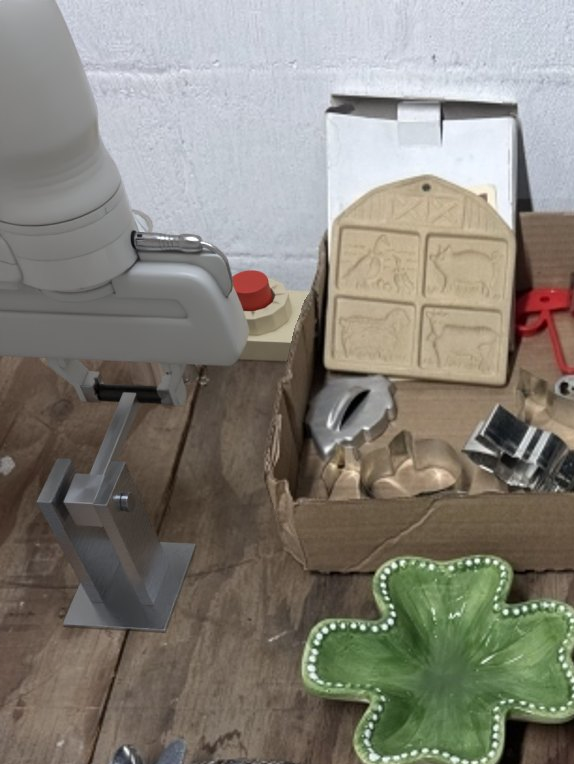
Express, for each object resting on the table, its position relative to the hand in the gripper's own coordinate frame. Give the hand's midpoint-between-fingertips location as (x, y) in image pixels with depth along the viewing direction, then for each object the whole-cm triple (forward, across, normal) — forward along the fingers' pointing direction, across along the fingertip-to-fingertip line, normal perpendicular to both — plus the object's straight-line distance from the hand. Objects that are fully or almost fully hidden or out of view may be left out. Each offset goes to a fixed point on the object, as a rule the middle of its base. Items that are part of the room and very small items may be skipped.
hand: (134, 399), depth 83 cm
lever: (+1, 0, +6) cm, 6 cm away
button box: (+10, -3, -22) cm, 25 cm away
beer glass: (+10, +5, -15) cm, 19 cm away
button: (+7, -3, -22) cm, 23 cm away
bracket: (+10, 0, +11) cm, 15 cm away
